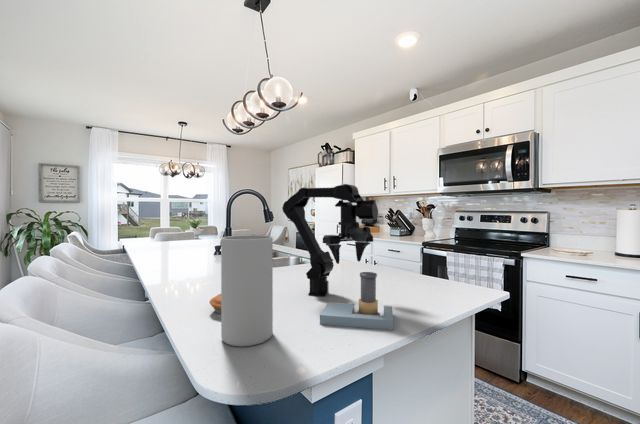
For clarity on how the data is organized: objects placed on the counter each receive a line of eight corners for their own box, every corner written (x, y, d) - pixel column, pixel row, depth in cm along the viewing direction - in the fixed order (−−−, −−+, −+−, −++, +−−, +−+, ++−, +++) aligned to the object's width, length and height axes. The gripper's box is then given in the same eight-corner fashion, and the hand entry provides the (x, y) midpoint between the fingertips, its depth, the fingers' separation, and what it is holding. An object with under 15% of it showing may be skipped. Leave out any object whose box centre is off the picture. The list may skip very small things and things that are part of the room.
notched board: (319, 323, 84) (319, 315, 84) (327, 310, 95) (327, 302, 95) (393, 329, 79) (393, 320, 79) (392, 314, 91) (392, 306, 91)
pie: (198, 315, 91) (198, 298, 91) (230, 300, 106) (230, 286, 106) (240, 322, 85) (240, 304, 85) (268, 306, 100) (268, 291, 100)
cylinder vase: (224, 352, 67) (224, 240, 67) (219, 331, 78) (219, 236, 78) (278, 342, 72) (278, 238, 72) (266, 324, 83) (266, 234, 83)
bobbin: (352, 318, 88) (352, 274, 88) (363, 311, 93) (363, 270, 93) (373, 323, 84) (373, 277, 84) (383, 316, 89) (383, 273, 89)
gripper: (339, 220, 96) (339, 268, 96) (383, 219, 105) (383, 263, 105) (321, 219, 106) (321, 263, 106) (363, 218, 115) (363, 259, 115)
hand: (348, 262), depth 108 cm, fingers open, 9 cm apart
